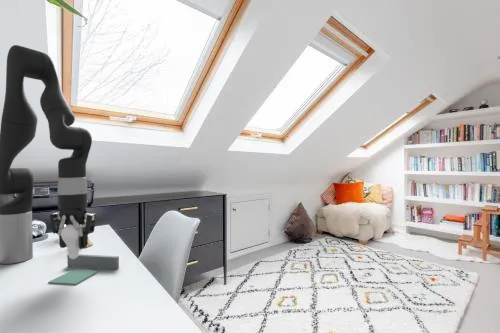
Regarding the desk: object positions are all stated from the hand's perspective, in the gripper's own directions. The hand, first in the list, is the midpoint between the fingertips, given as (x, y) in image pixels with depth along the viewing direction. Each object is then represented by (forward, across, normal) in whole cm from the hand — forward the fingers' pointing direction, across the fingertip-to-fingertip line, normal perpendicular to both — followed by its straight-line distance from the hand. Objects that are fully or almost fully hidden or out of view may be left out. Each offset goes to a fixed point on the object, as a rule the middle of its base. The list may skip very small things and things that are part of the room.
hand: (73, 247), depth 82 cm
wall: (+9, 0, +8) cm, 12 cm away
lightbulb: (+4, 0, 0) cm, 4 cm away
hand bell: (+9, -22, +29) cm, 38 cm away
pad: (+9, 0, 0) cm, 9 cm away
